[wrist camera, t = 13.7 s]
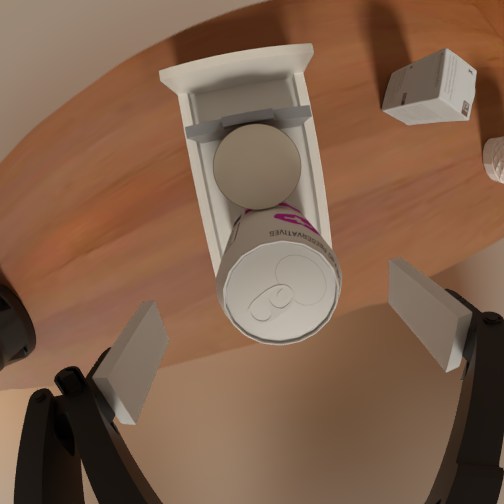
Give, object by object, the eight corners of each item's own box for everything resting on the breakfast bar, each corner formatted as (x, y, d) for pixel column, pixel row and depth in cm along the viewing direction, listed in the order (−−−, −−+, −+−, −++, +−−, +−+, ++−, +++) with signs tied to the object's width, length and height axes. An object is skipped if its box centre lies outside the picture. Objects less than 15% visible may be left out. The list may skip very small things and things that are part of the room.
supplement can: (274, 181, 30) (290, 199, 15) (322, 239, 31) (371, 301, 17) (216, 231, 31) (184, 290, 17) (266, 284, 33) (273, 371, 19)
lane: (222, 282, 35) (212, 320, 26) (183, 93, 28) (158, 70, 20) (328, 264, 34) (349, 297, 26) (297, 72, 27) (311, 43, 19)
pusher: (202, 143, 29) (183, 137, 21) (200, 134, 28) (181, 125, 21) (299, 126, 28) (314, 113, 20) (297, 117, 28) (312, 102, 20)
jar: (230, 203, 31) (220, 219, 22) (218, 140, 29) (203, 131, 20) (294, 192, 31) (309, 203, 22) (283, 128, 28) (294, 115, 20)
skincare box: (390, 71, 27) (443, 42, 15) (419, 88, 27) (478, 68, 16) (379, 112, 29) (435, 95, 17) (409, 128, 29) (471, 121, 17)
